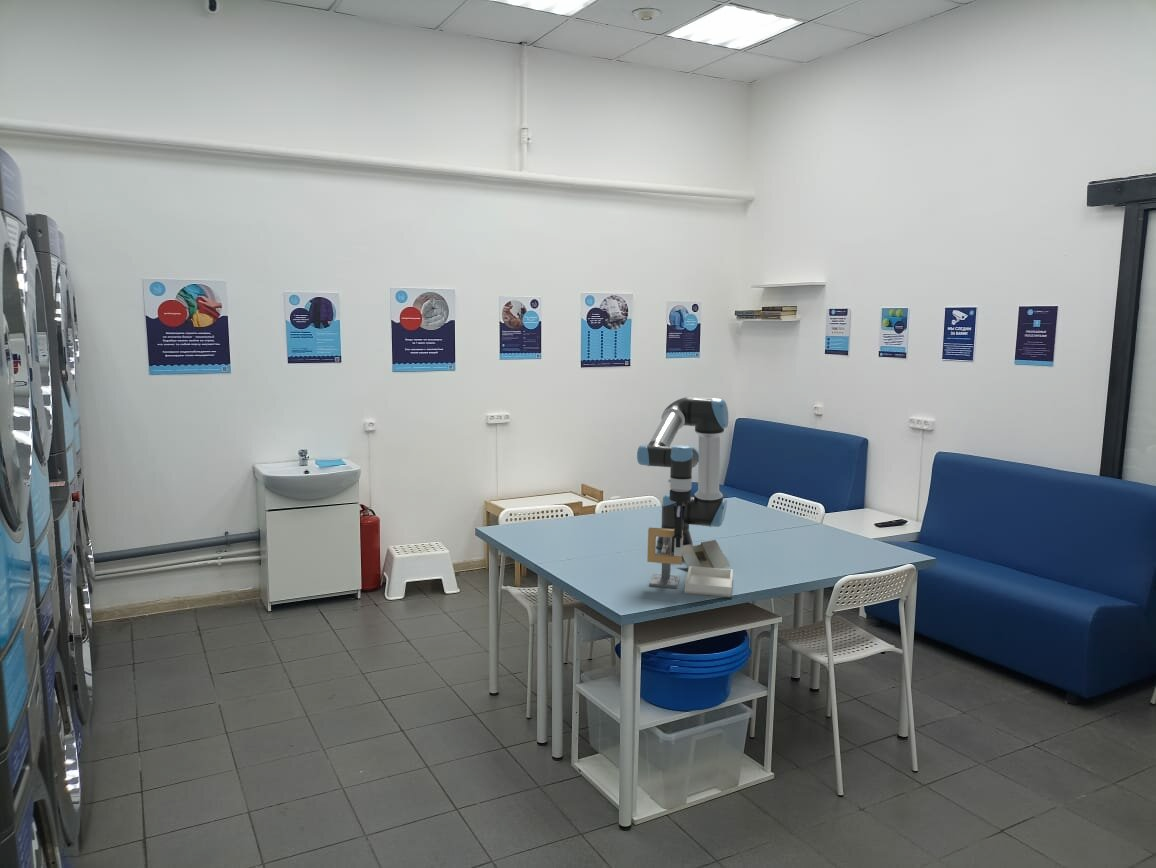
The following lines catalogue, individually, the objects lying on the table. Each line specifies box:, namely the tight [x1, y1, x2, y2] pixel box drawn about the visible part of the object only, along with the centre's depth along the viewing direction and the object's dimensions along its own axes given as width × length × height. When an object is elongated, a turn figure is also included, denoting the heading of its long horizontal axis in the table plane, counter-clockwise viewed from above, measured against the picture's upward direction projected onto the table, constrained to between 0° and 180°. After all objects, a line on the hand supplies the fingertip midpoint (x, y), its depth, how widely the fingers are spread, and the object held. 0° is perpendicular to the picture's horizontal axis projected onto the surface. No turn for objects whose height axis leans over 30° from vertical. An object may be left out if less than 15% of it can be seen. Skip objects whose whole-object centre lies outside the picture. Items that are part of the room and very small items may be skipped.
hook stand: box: [648, 537, 681, 589], centre depth 292 cm, size 16×10×17 cm, turn 168°
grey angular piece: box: [682, 539, 731, 571], centre depth 315 cm, size 16×9×15 cm
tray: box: [684, 566, 734, 598], centre depth 291 cm, size 22×16×4 cm
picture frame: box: [646, 527, 683, 565], centre depth 289 cm, size 2×12×12 cm, turn 78°
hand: (678, 554), depth 289 cm, fingers closed on picture frame, 2 cm apart
